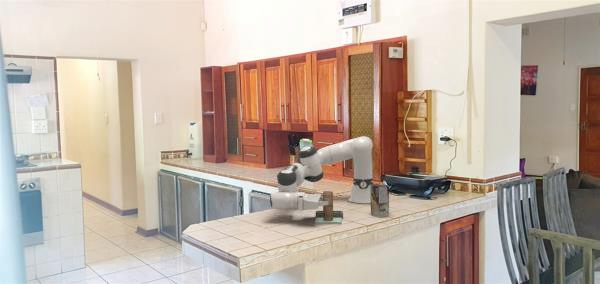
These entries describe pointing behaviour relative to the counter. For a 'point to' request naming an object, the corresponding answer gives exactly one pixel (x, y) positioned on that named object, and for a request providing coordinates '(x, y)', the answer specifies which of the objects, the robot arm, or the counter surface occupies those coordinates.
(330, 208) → the walnut column
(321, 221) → the board
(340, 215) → the pit tray
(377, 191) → the coffee box
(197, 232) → the counter surface
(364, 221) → the counter surface
